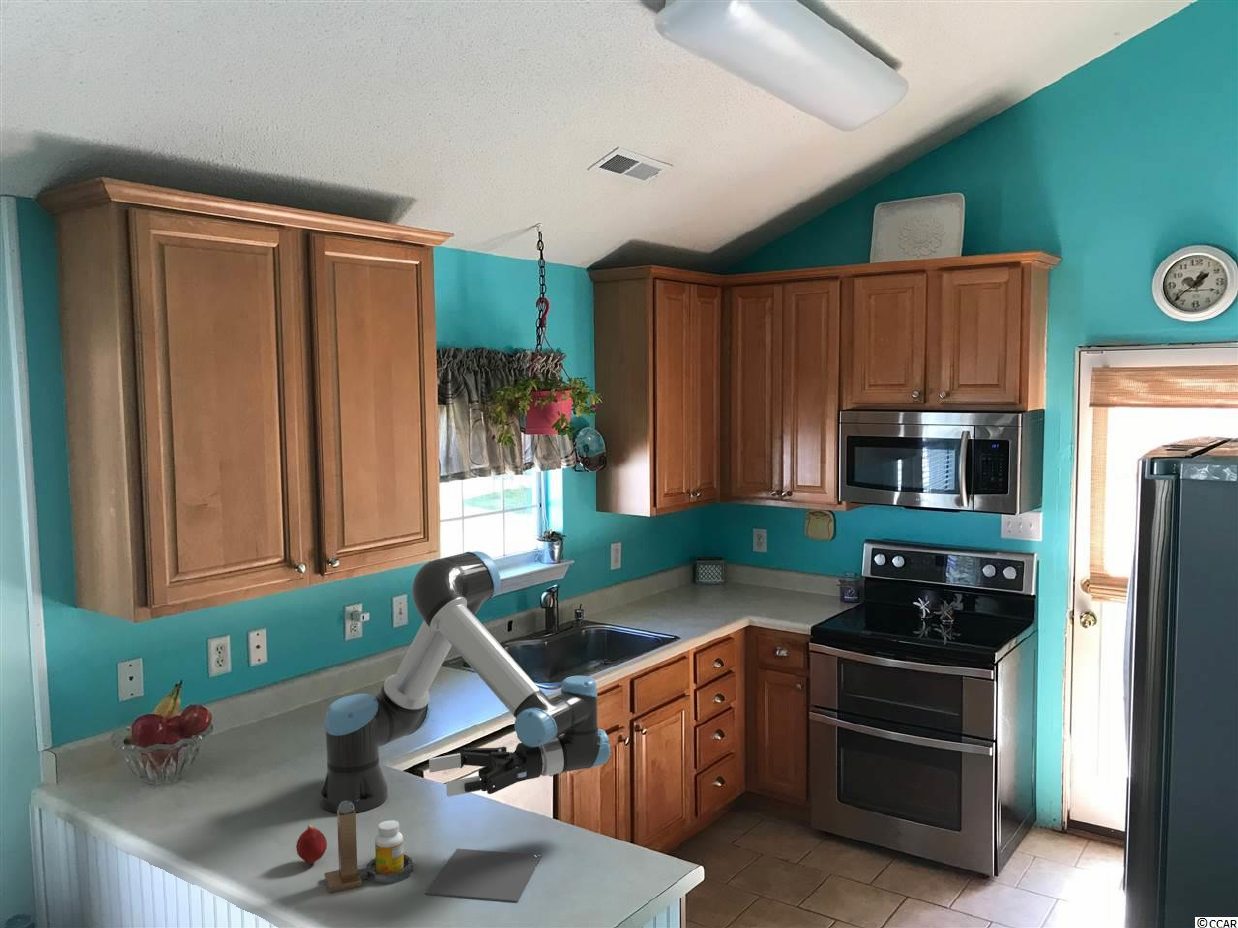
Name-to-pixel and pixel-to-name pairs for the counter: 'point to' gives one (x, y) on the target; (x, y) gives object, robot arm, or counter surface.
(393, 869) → the supplement bottle
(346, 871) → the ring stand
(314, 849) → the onion
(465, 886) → the mat
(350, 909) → the counter surface
